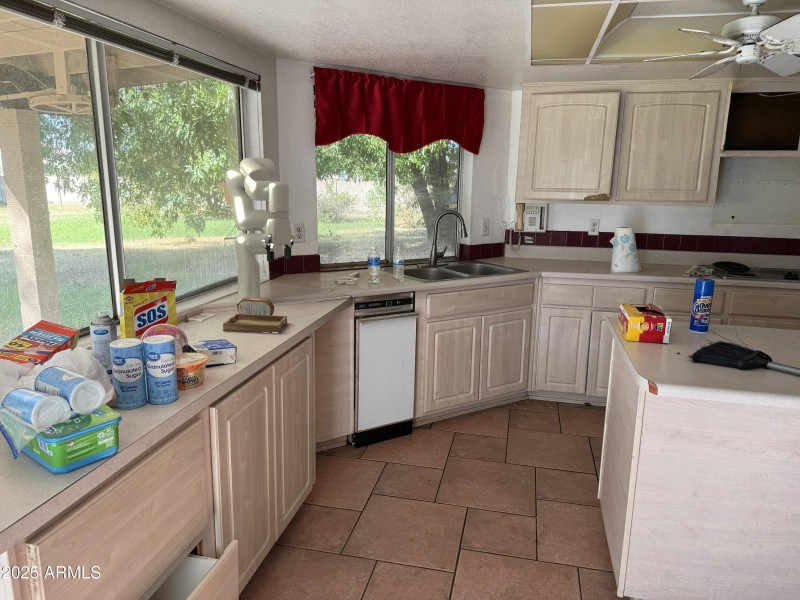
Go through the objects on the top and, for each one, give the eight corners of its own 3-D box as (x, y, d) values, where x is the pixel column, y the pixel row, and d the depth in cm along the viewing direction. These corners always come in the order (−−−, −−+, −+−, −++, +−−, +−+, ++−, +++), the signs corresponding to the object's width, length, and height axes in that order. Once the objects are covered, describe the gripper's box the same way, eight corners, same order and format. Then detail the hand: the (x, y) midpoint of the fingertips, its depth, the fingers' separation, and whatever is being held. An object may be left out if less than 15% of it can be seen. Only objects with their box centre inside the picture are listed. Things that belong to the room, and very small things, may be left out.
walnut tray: (236, 320, 216) (235, 313, 215) (287, 323, 215) (287, 316, 215) (223, 331, 202) (222, 323, 201) (277, 333, 201) (277, 326, 201)
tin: (274, 318, 222) (274, 298, 220) (272, 320, 219) (271, 300, 217) (239, 316, 224) (239, 296, 222) (236, 318, 221) (236, 297, 219)
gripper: (286, 213, 214) (286, 256, 218) (255, 215, 199) (256, 261, 203) (301, 215, 211) (301, 258, 215) (270, 217, 196) (271, 264, 200)
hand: (279, 260), depth 209 cm, fingers open, 9 cm apart
